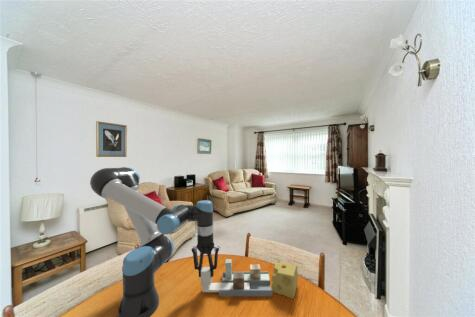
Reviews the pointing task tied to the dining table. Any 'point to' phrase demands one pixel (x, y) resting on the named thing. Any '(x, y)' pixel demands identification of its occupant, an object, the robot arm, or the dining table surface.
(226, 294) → the lane board
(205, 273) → the strip front
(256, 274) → the maple block
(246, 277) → the strip rear
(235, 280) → the walnut block
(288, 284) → the cheese
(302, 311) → the dining table surface
